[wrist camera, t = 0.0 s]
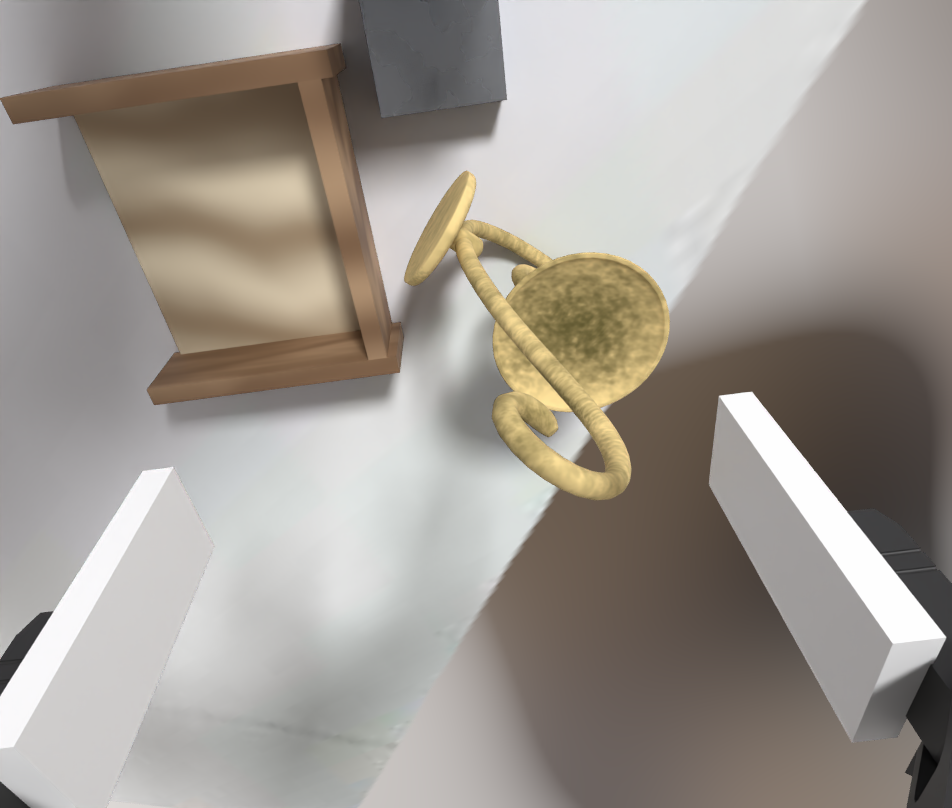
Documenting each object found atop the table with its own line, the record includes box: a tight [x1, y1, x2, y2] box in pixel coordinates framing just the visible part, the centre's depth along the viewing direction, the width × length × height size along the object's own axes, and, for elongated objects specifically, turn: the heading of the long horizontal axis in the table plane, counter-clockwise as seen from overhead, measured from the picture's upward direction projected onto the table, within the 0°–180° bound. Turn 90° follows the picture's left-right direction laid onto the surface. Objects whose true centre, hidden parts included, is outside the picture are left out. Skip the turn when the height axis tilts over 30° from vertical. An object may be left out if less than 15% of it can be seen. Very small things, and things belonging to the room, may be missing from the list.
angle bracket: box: [359, 0, 507, 118], centre depth 29 cm, size 9×7×10 cm
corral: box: [0, 43, 404, 405], centre depth 37 cm, size 18×16×5 cm
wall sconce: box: [404, 171, 670, 500], centre depth 30 cm, size 14×10×25 cm
